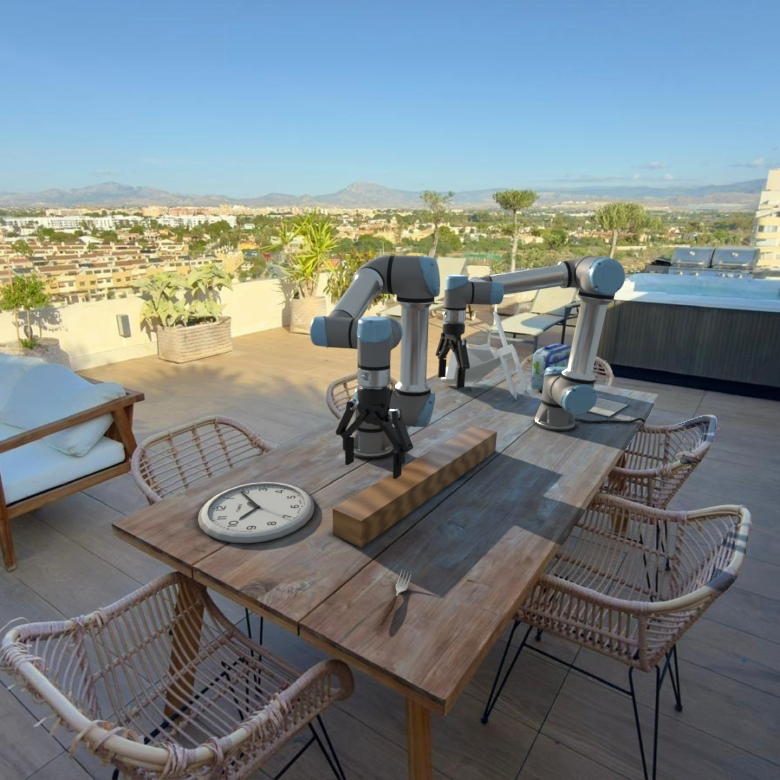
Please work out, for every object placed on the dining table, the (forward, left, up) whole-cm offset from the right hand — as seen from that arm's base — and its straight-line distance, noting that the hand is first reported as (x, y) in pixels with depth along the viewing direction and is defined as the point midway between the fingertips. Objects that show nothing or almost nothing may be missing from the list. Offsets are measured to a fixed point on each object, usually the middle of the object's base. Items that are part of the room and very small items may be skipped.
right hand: (450, 382), depth 182 cm
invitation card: (-66, -47, -22) cm, 83 cm away
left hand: (+18, +63, -4) cm, 66 cm away
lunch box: (-48, -72, -22) cm, 89 cm away
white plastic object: (-14, -59, -22) cm, 64 cm away
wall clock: (+50, +58, -22) cm, 79 cm away
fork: (+10, +88, -22) cm, 91 cm away
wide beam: (+5, +37, -22) cm, 43 cm away
